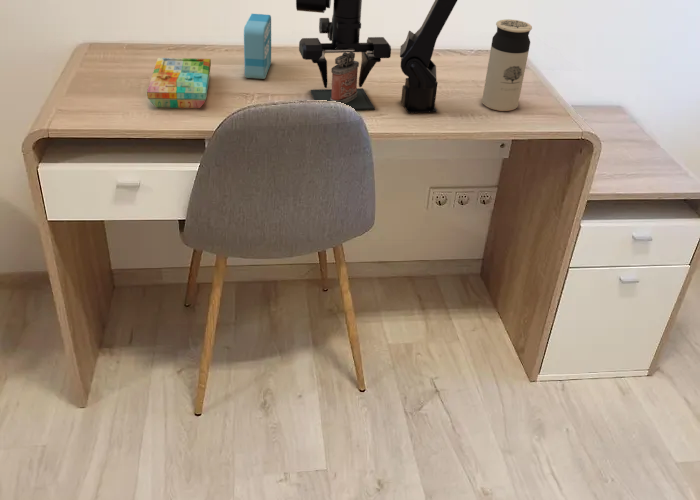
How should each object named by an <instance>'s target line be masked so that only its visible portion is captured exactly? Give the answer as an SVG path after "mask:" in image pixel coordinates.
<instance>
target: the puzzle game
mask: <svg viewBox="0 0 700 500" xmlns="http://www.w3.org/2000/svg"><path fill="white" fill-rule="evenodd" d="M211 67H212V59H211V58H186V57H183V58H182V57H157V59H156V62H155V66H154V69H153V72H152V75H151V78H150V81H149V85H148V88H147V91H146V95H147V99H148V100H149V102H150V103H151V104H152V105H153V106H154V107H156V108H170V109H171V108H172V109H173V108H174V109H179V108H181V109H184V108H185V109H200V108H201V107H202V106H204V103H205V102H206V100H207V96H208V89H209V88H208V87H209V80H210V74H211Z"/></svg>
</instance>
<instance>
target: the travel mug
mask: <svg viewBox="0 0 700 500" xmlns="http://www.w3.org/2000/svg"><path fill="white" fill-rule="evenodd" d="M495 25H496V32H495V33H494V35H493V36H492V40H491V45H490V51H489V57H488V62H487V69H486V75H485V81H484V86H483V92H482V93H483V94H482V97H481V98H482V99H481V103H482V104H483V105H484V106H485V107H487V108H488V109H491V110H494V111H498V112H499V111H500V112H509V111H513V110H516V109H517V108H518V107H519V102H520V97H521V92H522V88H523V82H524V77H525V72H526V66H527V61H528V56H529V52H530V46H531V39H530V36H529V35H530V32H531V30H532V29H533V26H532V25H531V24H530V23H528V22H526V21H523V20H519V19H509V18H508V19H500V20H498V21H497V22H496V23H495Z"/></svg>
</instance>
